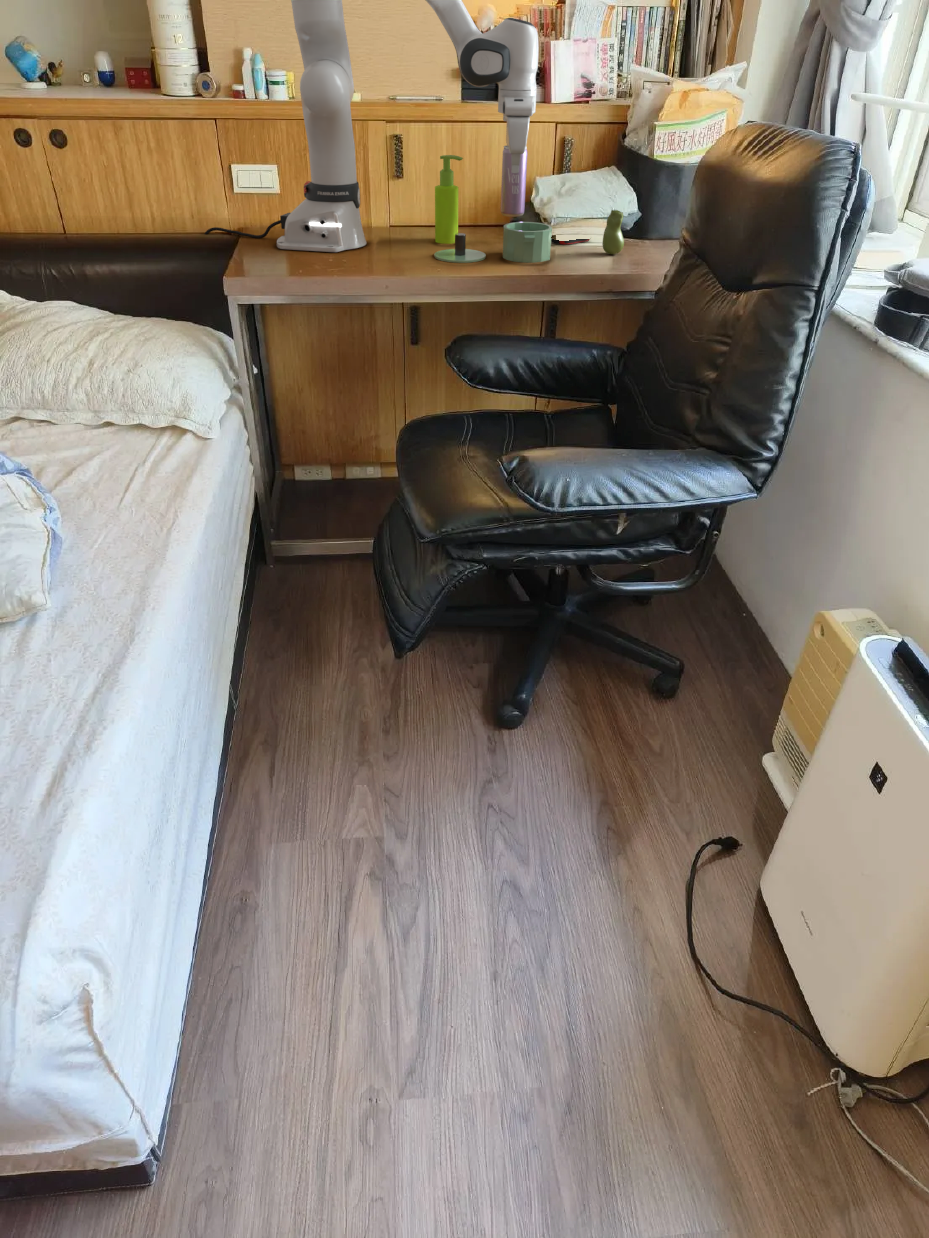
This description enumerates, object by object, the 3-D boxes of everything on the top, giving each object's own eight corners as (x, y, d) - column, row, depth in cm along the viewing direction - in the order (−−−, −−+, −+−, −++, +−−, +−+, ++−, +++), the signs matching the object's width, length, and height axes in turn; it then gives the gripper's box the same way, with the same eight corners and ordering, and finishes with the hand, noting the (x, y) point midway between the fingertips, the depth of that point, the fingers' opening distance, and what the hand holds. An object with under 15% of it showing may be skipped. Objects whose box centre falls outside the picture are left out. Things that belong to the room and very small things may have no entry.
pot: (503, 267, 193) (505, 233, 189) (501, 251, 206) (502, 219, 202) (552, 268, 193) (554, 234, 189) (546, 252, 207) (548, 220, 202)
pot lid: (433, 265, 194) (433, 239, 190) (435, 253, 204) (434, 228, 200) (486, 266, 194) (487, 240, 191) (485, 253, 204) (485, 229, 201)
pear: (602, 251, 208) (607, 207, 202) (623, 252, 207) (629, 208, 201) (600, 255, 204) (604, 211, 198) (621, 257, 203) (626, 213, 197)
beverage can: (524, 213, 209) (528, 145, 200) (523, 217, 204) (527, 148, 195) (501, 212, 209) (503, 144, 200) (499, 216, 204) (502, 147, 196)
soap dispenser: (457, 247, 209) (458, 157, 198) (431, 244, 211) (431, 156, 199) (464, 242, 214) (466, 154, 202) (439, 240, 216) (439, 153, 204)
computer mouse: (593, 241, 217) (595, 225, 215) (560, 246, 212) (562, 229, 210) (578, 237, 221) (580, 221, 219) (546, 241, 217) (547, 224, 214)
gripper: (501, 100, 201) (499, 164, 209) (505, 107, 185) (502, 176, 193) (527, 100, 201) (524, 164, 209) (533, 108, 185) (529, 177, 193)
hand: (514, 170), depth 201 cm, fingers closed on beverage can, 6 cm apart
